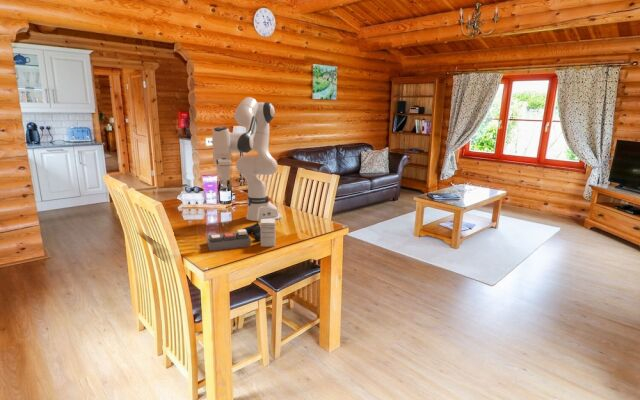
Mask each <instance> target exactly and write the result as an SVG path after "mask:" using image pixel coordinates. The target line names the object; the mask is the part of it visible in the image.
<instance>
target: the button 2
mask: <svg viewBox="0 0 640 400" xmlns="http://www.w3.org/2000/svg"><path fill="white" fill-rule="evenodd" d="M236 232H237V233H238V234H239V235H244V234H247V231H246V229H243V228H242V229H237V231H236Z"/></svg>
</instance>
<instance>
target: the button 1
mask: <svg viewBox="0 0 640 400" xmlns="http://www.w3.org/2000/svg"><path fill="white" fill-rule="evenodd" d="M210 235H211V239H215V238H220V235H215V234H210Z"/></svg>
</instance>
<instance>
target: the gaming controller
mask: <svg viewBox="0 0 640 400" xmlns="http://www.w3.org/2000/svg"><path fill="white" fill-rule="evenodd" d="M242 229H246V231H247V233H248V235H249V234H253V235H254V236H253V239H254V241H256V242H259V241H261V229H260V223H259V222H258V221H256V223H255V224H252V225H249V226H246V227H243V228H242Z"/></svg>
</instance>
